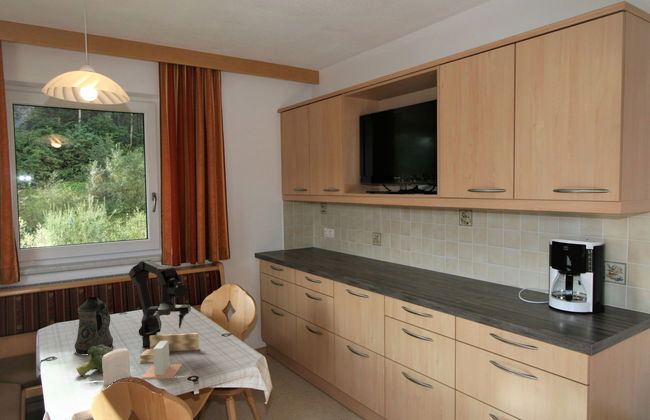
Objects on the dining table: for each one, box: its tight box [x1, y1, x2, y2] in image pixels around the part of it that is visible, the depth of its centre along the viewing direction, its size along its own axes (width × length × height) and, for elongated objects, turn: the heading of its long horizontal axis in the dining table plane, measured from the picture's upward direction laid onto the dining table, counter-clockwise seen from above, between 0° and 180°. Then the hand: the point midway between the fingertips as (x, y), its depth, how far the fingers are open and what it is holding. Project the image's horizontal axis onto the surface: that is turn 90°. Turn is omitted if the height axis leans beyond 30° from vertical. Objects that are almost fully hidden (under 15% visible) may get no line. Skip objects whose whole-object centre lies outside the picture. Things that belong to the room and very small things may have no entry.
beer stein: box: [73, 296, 114, 355], centre depth 210 cm, size 16×19×25 cm
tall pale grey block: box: [153, 341, 171, 375], centre depth 182 cm, size 4×9×11 cm, turn 4°
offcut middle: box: [139, 358, 154, 364], centre depth 195 cm, size 7×8×2 cm
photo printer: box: [102, 348, 131, 386], centre depth 175 cm, size 10×4×12 cm, turn 140°
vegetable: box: [76, 344, 113, 377], centre depth 183 cm, size 12×13×15 cm
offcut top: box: [139, 348, 154, 360], centre depth 195 cm, size 6×7×2 cm
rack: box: [149, 332, 200, 354], centre depth 198 cm, size 22×14×8 cm, turn 94°
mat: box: [141, 363, 183, 380], centre depth 182 cm, size 13×12×1 cm
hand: (169, 328), depth 201 cm, fingers open, 9 cm apart
